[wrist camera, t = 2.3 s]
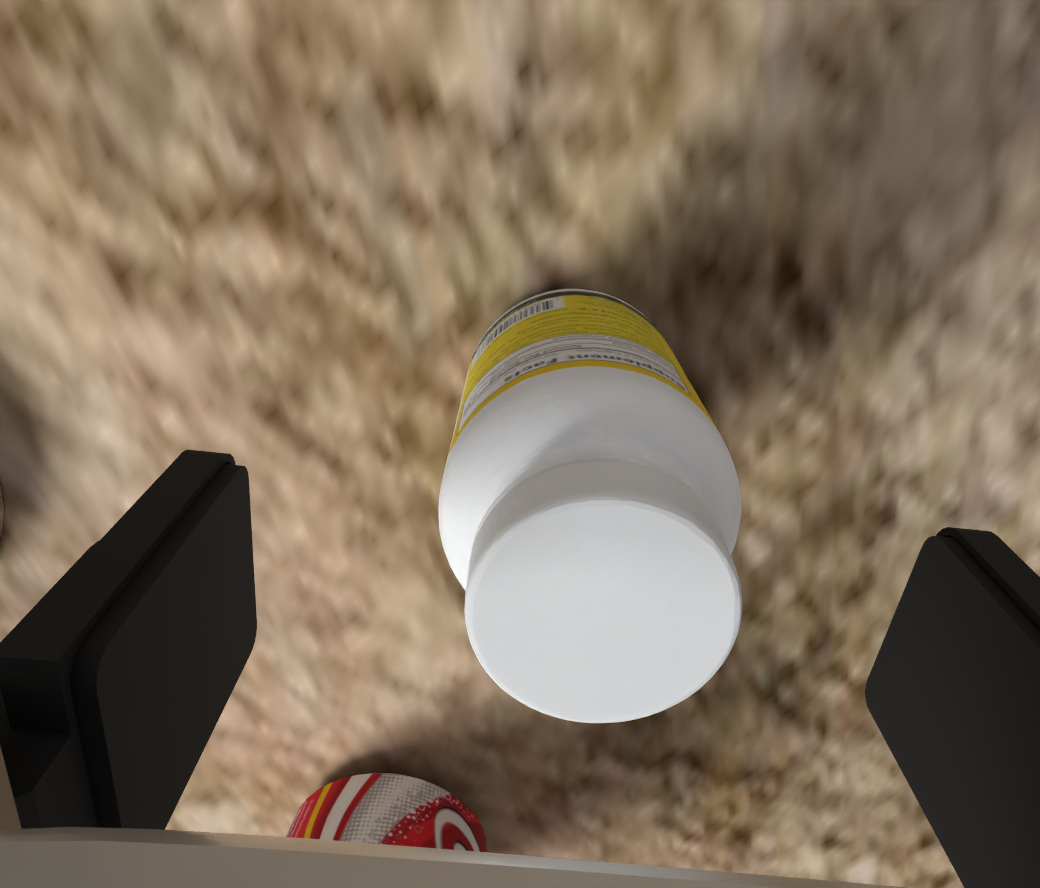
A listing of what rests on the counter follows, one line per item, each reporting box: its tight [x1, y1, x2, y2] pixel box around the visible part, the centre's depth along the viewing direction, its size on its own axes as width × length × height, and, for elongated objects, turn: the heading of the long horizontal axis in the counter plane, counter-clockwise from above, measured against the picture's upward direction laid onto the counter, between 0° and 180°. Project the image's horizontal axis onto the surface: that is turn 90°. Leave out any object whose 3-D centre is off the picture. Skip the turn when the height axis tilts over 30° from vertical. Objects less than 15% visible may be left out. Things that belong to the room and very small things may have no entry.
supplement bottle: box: [439, 289, 742, 723], centre depth 15 cm, size 5×5×10 cm
